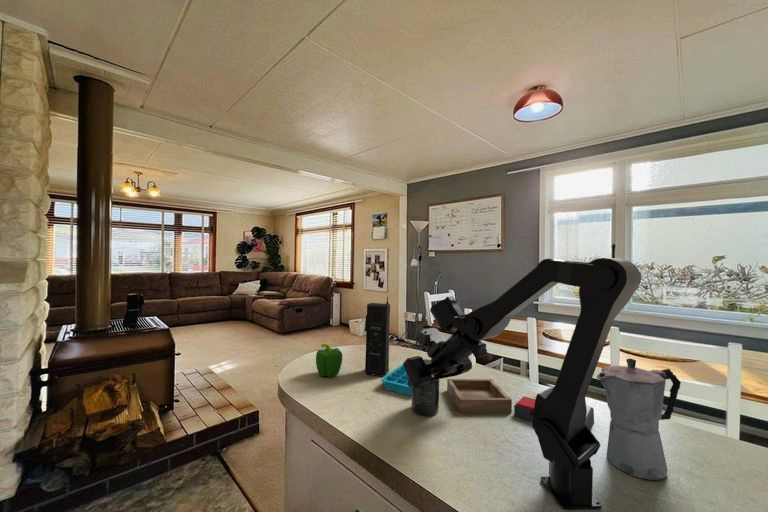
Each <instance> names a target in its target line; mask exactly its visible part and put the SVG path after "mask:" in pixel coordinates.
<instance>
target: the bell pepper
mask: <svg viewBox="0 0 768 512" xmlns="http://www.w3.org/2000/svg"><path fill="white" fill-rule="evenodd" d="M320 346H321V348H323V347H325V348H324V349H318V350H317V351H316V354H315V365H316V366H315V367H316V370H317V373H318V375H319V376H320V377H329V378H335V377H336V376H338V374H339V373H340V371H341V367H342V363H343V353H342V351H341V350H340V349H339V348H338V347H334V348H332V347H331V346H330V345H329V344H328V343H322V344H321V345H320Z"/></svg>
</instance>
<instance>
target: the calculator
mask: <svg viewBox="0 0 768 512" xmlns="http://www.w3.org/2000/svg"><path fill="white" fill-rule="evenodd" d="M538 393H539V392H536V391H531V390H528V392H527V393H526V394H525V395H524V396H522V397H521V398H520V399H519V400H518V401H517V402H516V403H515V404H514V407H513V411H514V413H513V414H514V415H513V416H514V417H516V418H518V419H521V420H522V421H523V420H524V421H527V422H530V423H532V418H533V416H531V415H530V412H532V411H533V409H534V406H535V399H536V396H537V394H538ZM586 409H587V414H586V421H585V425H586V426H587V427H588V428H589V430H590V431H591V432H592V429H593V427H594V425H595V412H594V410H595V409H594V408H593V407H592V406H591V405H588V404H586ZM592 426H593V427H592Z"/></svg>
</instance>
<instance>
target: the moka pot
mask: <svg viewBox="0 0 768 512" xmlns="http://www.w3.org/2000/svg"><path fill="white" fill-rule="evenodd" d="M625 360H626V364H627V365H626V366H625V365H614V364H613V365H609V366H605V367H602V368H601V371H600V372H599V373H598V374H597V375H596V378H597V379H598V380H599V381H600V382H601V384H602V386H603V389H604V390H605V391H604V392H605V397H606V402H607V403H606V404H607V407H608V409H609V413H610V419H611V420H610V421H609V430H608V439H607V447H606V448H607V449H606V456H607V457H606V458H607V459H608V461H609V463H611V464H612V465H613V466H614V467H615V468H617V469H619V470H620V471H622V472H624V473H626V474H628V475H630V476H633V477H635V478H639V479H642V480H643V479H645V480H648V481H649V480H650V481H654V480H656V481H657V480H663V479H665V478H666V477H667V475H668V464H667V461H666V457H665V452H664V447H663V441H662V437H661V433H660V430H659V429H660V425H659V424H660V421H663V420H670V419H672V418H671V417H672V414H673V411H674V407H675V404H676V401H677V398H678V393H679V390H680V389H681V388H680V387H681V381H680V380H679V378H677V376H676V375H675V374H674V372H673V371H672V370H671V369H669V368H666V369H661V370H659V369H651V370H647V369H643V368H639V367H636V363H637V360H636V359H634V358H626V359H625ZM666 380H670V381H671V383H672V386H671V387H670V388H669V398H668V401H667V402H668V403H667V406H666V409H665V411H664V412H663V405H664V398H665V389H666Z"/></svg>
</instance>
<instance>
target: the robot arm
mask: <svg viewBox="0 0 768 512" xmlns="http://www.w3.org/2000/svg"><path fill="white" fill-rule="evenodd" d="M641 282H642V273H641V271H640V270H639V268H638V267H637V265H635V263H633V262H632V261H630V260H628V259H625V258H614V257H602V258H601V257H599V258H595V259H593V260H591V261H589V262H585V261H575V260H574V261H573V260H564V259H562V258H544V259H542V260H541V261H540V262H539V263H538V264H537V265H536V266H535V267H534V268H533V269H531V271H529V272H528V273H527V274H526V275H524V276H523V277H521V279H519V280H518V281H517V282H516V283H515V284H513V286H511V287H510V288H509V289H507V290H506V291H505V292H504V293H502V294H501V295H499V297H498V298H496V299H495V300H493V301H492V302H490V303H488V304H485V305H483V306H480V307H478V308H475V309H474V310H472V311H470V312H469V313H464V312H463V310H462V309H461V307H460V306H459V304H458V303H457V300H456V299H455V297H454V295H453V296H452V295H451V296H446V297H445V298H444V299H441V300H439V301H437V303H435V304H433V305H432V306H431V307H430V309H429V311H430V313H431V316H432V317H433V318H434V320H435V322H436V323H437V324H438V326H439V329H440V330H441V331H440V330H439V329H438V328H436V327H430V328H423V329H422V330H420V331H419V332H418V333H416V337H415V339H416V342H417V344H419V346H420V347H424V348H426V349H427V350H428V351H427V352H426V354H427V356H428V358H430V360H431V364H427V365H426V364H425V362H424V360H423V359H424V358H423V357H422V356H420V355H416V356H412V357H407V358H406V359H405V360H404V361H403V363H402V364H403V366H404V369H405V371H406V373H407V375H408V377H409V380H408V386H409V387H415V388H417V387H421V386H425V385H427V384H428V383H429V382H430V381H431V375H434V374H438V376H439V380H442V379H446V378H447V379H448V378H451V377H456V376H460V375H462V374H465V373H468V372H469V371H471V370H472V369H473V362H472V361H471V359H470V356H471V355H473V356H474V358H475V359H478V358H482V357H485V356H487V355H488V350H487V344H486V343H485V342H482V340H487V339H491V338H495V337H497V336H499V335H501V334H502V333H503V331H505V329H506V328H507V327H508V326H509V324H510V322H511V320H512V318H513V317H514V316H515V315H517V314H518V313H520V312H521V311H522V310H523V309H525V308H526V307H528V306H529V305H530V304H532V303H533V302H534V301H536V300H537V299H538V298H539V297H541V296H543V295H544V294H545V293H546V292H548V291H550V290H551V289H552V288H554V287H555V286H556V285H557V284H562V285H567V286H572V287H578V288H579V290H578V298H579V305H580V313H579V315H578V318H577V321H576V324H575V326H574V329H573V332H572V335H571V339H570V342H569V344H568V347H567V349H566V353H565V355H564V358H563V361H562V364H561V368H560V370H559V373H558V376H557V378H556V382H555V384H554V386H551V387H548V388H547V389H545V390H543V391H540V392H537V393H538V394H537V396H536V399H535V406H534V409H533V411H532V412H530V415H531V416H533V418H532V422H531V428H532V429H533V430H534V432H535V435H536V437H537V439H538V443H539V445H540V451H541V452H542V456H543V458H544V459H545V460H547V461H548V476H547V475H546V476H543V475H542V476H540V482H541V483H542V484H543V485H544V487H545V488H546V490H547V491H548V492H549V494H550V495H551V496H552V498H553V499H554V500H555V501H556V502H557V504H558V506H559V507H560V508H561V509H563V510H575V509H576V510H579V509H580V510H585V509H589V510H590V509H591V510H592V509H593V510H595V509H597V510H599V509H603V508H602V507H603V506H602V505H603V504H602V503H601V501H599V500H598V498H596V496H595V495H594V494H593V483H594V477H593V475H594V474H593V473H594V467H593V466H592V461H591V458H592V457H593V456H595V455H596V454H597V453H598V451H599V449H600V448H601V443H600V441H599V440H598V439H597V437H596V436H595V435H594V433H593V432H592V430H591V431H590V430H589V428H588V427H587V426H586V425H585V421H586V414H587V409H586V405H587V403H586V395H587V392H588V390H589V387H590V384H591V383H592V380H593V377H594V374H595V371H596V368H597V367H598V363H599V360H600V357H601V355H602V352H603V350H604V347H605V344H606V341H607V339H608V337H609V334H610V331H611V329H612V325H613V323H614V321H615V319H616V317H617V316H618V315H619V314H620V312H622V311H623V309H624V308H625V307H626V306H627V304H628V303H629V302H630V300H631V298H632V297H633V295H634V294H635V292H636V291H637V289H638V288H639V286H640V284H641ZM446 332H447V333H448V334H451V335H450V336H449V337H448V339H447V338H446V336H445V335H444V334H443V333H446ZM430 370H431V371H430Z"/></svg>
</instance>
